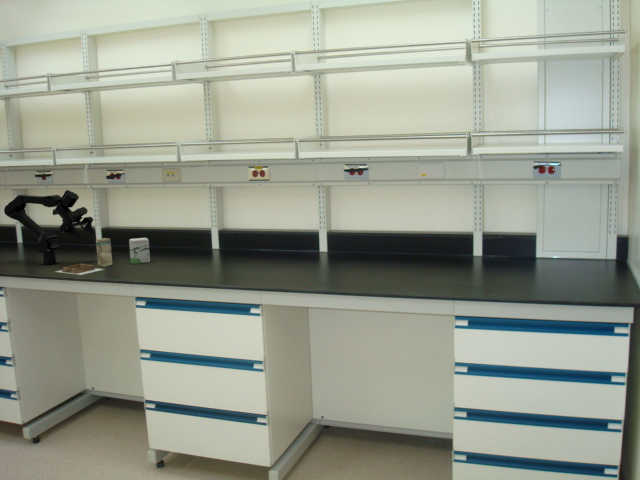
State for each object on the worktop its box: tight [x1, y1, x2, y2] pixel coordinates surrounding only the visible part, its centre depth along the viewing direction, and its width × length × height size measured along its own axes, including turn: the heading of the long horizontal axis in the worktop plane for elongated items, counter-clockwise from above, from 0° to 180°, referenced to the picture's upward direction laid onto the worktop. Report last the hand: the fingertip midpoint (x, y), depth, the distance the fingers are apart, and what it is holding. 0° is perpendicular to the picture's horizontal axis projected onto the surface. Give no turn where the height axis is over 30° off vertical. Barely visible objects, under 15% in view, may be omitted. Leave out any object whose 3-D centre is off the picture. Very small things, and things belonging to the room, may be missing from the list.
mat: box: [54, 267, 105, 276], centre depth 271 cm, size 18×13×1 cm
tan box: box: [95, 237, 113, 267], centre depth 281 cm, size 4×5×13 cm
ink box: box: [128, 237, 151, 265], centre depth 288 cm, size 9×5×12 cm, turn 123°
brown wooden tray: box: [61, 263, 96, 275], centre depth 270 cm, size 10×10×2 cm
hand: (88, 236), depth 282 cm, fingers open, 9 cm apart
